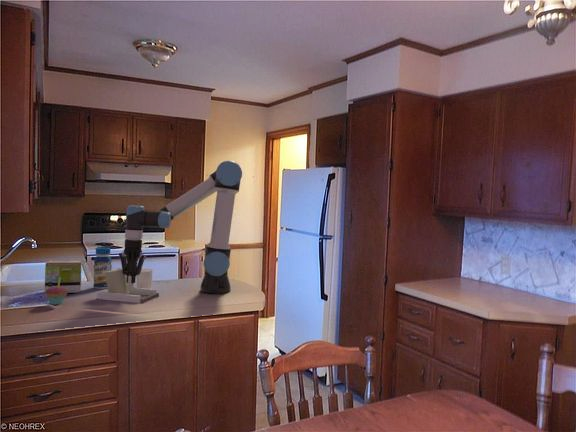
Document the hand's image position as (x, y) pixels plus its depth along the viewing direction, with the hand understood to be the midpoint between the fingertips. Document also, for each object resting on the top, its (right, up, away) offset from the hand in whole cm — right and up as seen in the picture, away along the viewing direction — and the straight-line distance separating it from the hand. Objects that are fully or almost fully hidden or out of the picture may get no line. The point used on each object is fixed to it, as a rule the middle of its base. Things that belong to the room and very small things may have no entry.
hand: (130, 290), depth 196 cm
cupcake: (-27, -3, -14) cm, 30 cm away
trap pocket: (+7, -4, -1) cm, 8 cm away
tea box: (-35, -2, +8) cm, 36 cm away
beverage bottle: (-21, -2, +20) cm, 29 cm away
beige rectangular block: (-6, -3, +2) cm, 7 cm away
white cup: (0, -3, +17) cm, 17 cm away
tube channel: (-2, -4, +1) cm, 4 cm away
